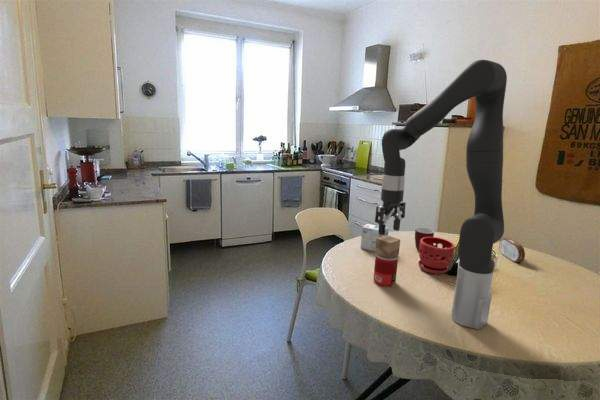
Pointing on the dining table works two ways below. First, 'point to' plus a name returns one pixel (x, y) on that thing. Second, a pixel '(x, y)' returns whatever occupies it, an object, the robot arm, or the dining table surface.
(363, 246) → the light bulb box
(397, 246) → the walnut block
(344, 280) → the dining table surface
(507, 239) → the tin
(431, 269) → the plant pot
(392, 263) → the canned food
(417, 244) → the mug
